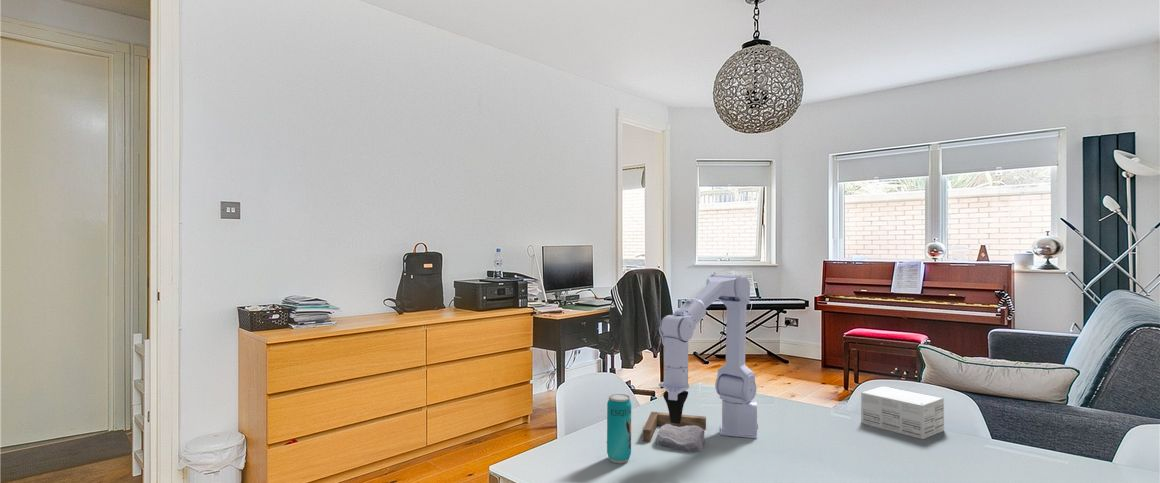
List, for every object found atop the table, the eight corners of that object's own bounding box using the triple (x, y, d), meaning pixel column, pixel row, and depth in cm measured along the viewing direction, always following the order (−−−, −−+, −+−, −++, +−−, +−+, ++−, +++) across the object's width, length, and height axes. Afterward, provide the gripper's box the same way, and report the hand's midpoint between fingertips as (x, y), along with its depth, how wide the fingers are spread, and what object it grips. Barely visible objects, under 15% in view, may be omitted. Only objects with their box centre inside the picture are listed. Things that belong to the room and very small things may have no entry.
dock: (706, 427, 153) (706, 416, 153) (703, 447, 138) (703, 435, 138) (651, 422, 157) (651, 411, 157) (642, 440, 142) (642, 429, 142)
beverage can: (629, 465, 126) (630, 400, 126) (605, 463, 127) (605, 399, 127) (632, 456, 131) (632, 394, 132) (608, 454, 133) (609, 392, 133)
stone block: (701, 460, 134) (705, 439, 143) (700, 442, 133) (704, 422, 142) (654, 455, 138) (661, 435, 147) (653, 438, 137) (660, 419, 146)
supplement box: (945, 431, 152) (945, 397, 152) (923, 440, 144) (923, 405, 144) (883, 415, 165) (883, 385, 166) (860, 423, 158) (860, 391, 158)
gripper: (662, 358, 138) (662, 412, 138) (655, 371, 124) (654, 430, 124) (691, 360, 136) (690, 414, 136) (686, 373, 122) (686, 433, 122)
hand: (675, 422), depth 130 cm, fingers closed
